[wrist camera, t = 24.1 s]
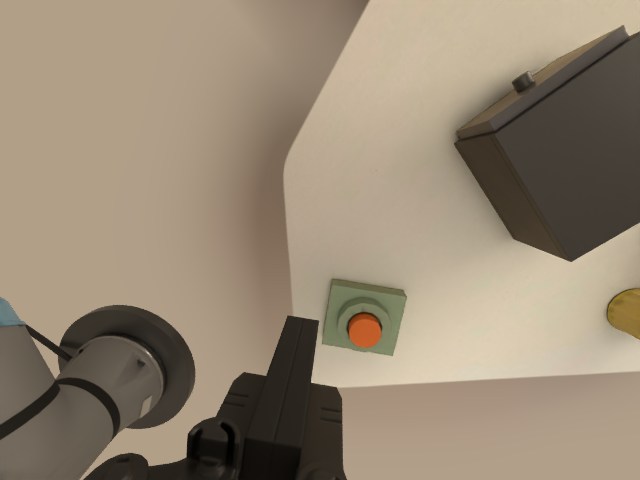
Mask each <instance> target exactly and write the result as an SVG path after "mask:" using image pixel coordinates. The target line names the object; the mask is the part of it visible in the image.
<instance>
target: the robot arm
mask: <svg viewBox="0 0 640 480" xmlns="http://www.w3.org/2000/svg"><path fill="white" fill-rule="evenodd" d="M318 325H319V321H318V320H312V319H306V318H300V317H294V316H287V319H286V322H285V325H284V328H283V331H282V333H281V336H280V339H279V342H278V345H277V347H276V350H275V353H274V356H273V359H272V362H271V364H270V367H269V370H268V373H267V376H263V375H257V374H251V373H246V372H244V373H242V374H241V375H240V376H239V377H238V378H236V380H234V382H233V383H232V385H231V387H230V389H229V391H228V394H227V395H226V397H225V399H224V401H223V404H222V405H221V407H220V410H219V411H218V413H217V415H216V417H213V418H209V419H206V420H203V421H201V422H200V423H198V424H197V425H195V426H194V427H193V428H192V430H191V431H190V432H189V433H188V439H187V458H185V459H182V460H180V461H178V462H173V463H169V464H163V465H156V466H148V462H147V460H146V459H145V458H144V457H143V456H142V455H139V454H134V453H128V454H120V455H118V456H115V457H113V458H110V459H108V460H107V461H105V462H104V463H102V464H101V465H100V466H98V467H97V468H96V469H94V470H93V471H92V472H91V473H90V474H89V475H88V476H87V477H86V478H85V479H84V480H347V479H346V476H345V473H344V470H343V448H342V447H343V444H342V441H343V440H342V398H341V396H340V394H339V392H338V390H337V387H332V386H326V385H320V384H314V383H311V376H312V369H313V362H314V354H315V347H316V340H317V332H318ZM30 335H31V336H32V337H33V338H35V339H37V340H38V341H39V342H41V343H42V344H43V345H45V346H46V347H48V348H49V349H50V350H52V351H53V352H54V353H55V354H57V355H58V356H60V357H61V358H62V359H64V360H65V361H67V362H68V364H67V365H66V366H65V367H64V369H63V370H62V371H61V373H60V374H59V375H58V377H57V378H56V379H55V378H54V376H53V375H52V373H51V371H50V369H49V368H48V366H47V364H46V362H45V361H44V359H43V357H42V355H41V354H40V352H39V350H38V348H37V347H36V345H35V343H34V341H33V339H32V338H31V336H30ZM166 387H167V373H166V369H165V366H164V364H163V361H162V360H161V358H160V357H159V355H158V354H157V353H156V351H155V350H154V349H153V348H152V347H151V346H149V345H148V344H147V343H145V342H144V341H142V340H141V339H139V338H137V337H135V336H132V335H129V334H125V333H119V332H110V333H104V334H101V335H98V336H96V337H94V338H93V339H91V340H90V341H88V342H87V343H85V344H84V345H83V346H81V347H80V348H79V349H78V351H77V352H76V353H75V354H74V356H73V357H72V356H70V355H69V354H67V353H66V352H65V351H63V350H62V349H60V348H59V347H58V346H57V345H55V344H54V343H53V342H51V341H50V340H48V339H47V338H45V337H44V336H43V335H41V334H40V333H38V332H37V331H35V330H34V329H32V328H31V327H29V326H28V325H26V323H25V322H23V321H21V320H20V319H19V317H18V316H17V314H16V313H15V311H14V310H13V308H12V307H11V305H10V304H9V303H8V301H6V300H5V299H3V298H1V297H0V480H79V479H80V478H81V477H82V475H83V474H84V473H85V472H86V471H87V469H88V468H89V467H90V466H91V465H92V463H93V462H94V461H95V460H96V458H97V457H98V456H99V455H100V454H101V453H102V451H103V450H104V449H105V448H106V447H107V445H108V444H109V443H110V442H111V441H112V439H113V438H114V437H115V436H116V435H117V434H118V433H119V432H120V431H121V430H123V429H124V428H126V427H127V426H129V425H130V424H131V423H133V422H134V421H135V420H137V419H138V418H141V417H143V416H144V415H145V414H147V413H148V412H149V411H151V410H152V409H153V408H154V407H155V405H156V404H157V403H158V402H159V400H160V399H161V398H162V396H163V395H164V393H165V390H166Z"/></svg>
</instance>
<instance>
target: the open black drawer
mask: <svg viewBox="0 0 640 480" xmlns="http://www.w3.org/2000/svg"><path fill="white" fill-rule="evenodd" d="M628 38H629V35H628V33H627V31H626V29H625V27H624V25H623V26H621V27H619V28H617V29H615V30H613V31H611V32H609V33H607V34H605V35H603V36H601V37H599V38H597V39H595V40H593V41H591V42H589V43H587V44H585V45H584V46H582V47H580V48H578V49H576V50H574V51H572V52H570V53H568V54H566V55H564V56H562V57H560V58H558V59H556V60H555V61H554V62H552V63H551V64H549V65H548V66H547V67H545V68H544V69H542V70H541V71H540V72H538V73H537V74H535V75H534V76H533V77H532V76H531V74H530V72H529V71H527V72H526V73H524V74H522V75H521V76H519V77H518V78H516V79H515V80H514V81H512V85H513V86H514V88H515V89H514V90H513V91H512V92H510V93H509V94H507V95H506V96H505V97H503V98H502V99H500V100H499V101H498V102H496V103H495V104H494V105H492V106H491V107H489V108H488V109H487V110H485V111H484V112H482V113H481V114H480V115H478V116H477V117H475V118H474V119H473V120H471V121H470V122H468V123H467V124H466V125H464V126H463V127H461V128H460V129H459V130H457V131H456V132H457V134H458V136H459V137H460V139H461V140H462V139H466V138H470V137H474V136H478V135H482V134H486V133H490V132H494V131H496V130H498V129H500V128H501V127H503V126H504V125H506V124H507V123H508V122H510V121H511V120H513V119H514V118H516V117H517V116H519V115H520V114H521V113H523V112H524V111H526V110H527V109H529V108H530V107H531V106H533V105H534V104H536V103H537V102H539V101H540V100H541V99H543V98H544V97H546V96H547V95H549V94H550V93H552V92H553V91H554V90H556V89H557V88H559V87H560V86H562V85H563V84H564V83H565V82H567V81H568V80H570V79H571V78H572V77H574V76H575V75H577V74H578V73H580V72H581V71H582V70H584V69H585V68H587V67H588V66H590V65H591V64H593V63H594V62H595V61H597V60H598V59H600V58H601V57H603V56H604V55H605V54H607V53H608V52H610V51H611V50H613V49H614V48H615V47H617V46H618V45H620V44H621V43H623V42H624V41H625V40H627V39H628Z"/></svg>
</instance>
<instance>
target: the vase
mask: <svg viewBox="0 0 640 480" xmlns="http://www.w3.org/2000/svg"><path fill="white" fill-rule="evenodd" d="M607 316H608V320H609V322H610V323H611V325H612V326H613V327H615V328H617V329H618V330H621V331H624V332H626V333H628V334H630V335H632V336H634V337H636V338H638V339H640V289H632V290H628V291H625V292H623V293H621V294H619V295H618V296H616V297H615V298H614V299H613V300H612V302H611V303H610V305H609V307H608V312H607Z"/></svg>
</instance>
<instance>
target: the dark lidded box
mask: <svg viewBox="0 0 640 480" xmlns="http://www.w3.org/2000/svg"><path fill="white" fill-rule="evenodd" d="M454 145H455V146H456V148H457V150H458V151H459V153H460V154H461V156H462V158H463V159H464V161H465V162H466V164H467V166H468V167H469V169H470V170H471V172H472V174H473V175H474V177H475V178H476V180H477V181H478V183H479V185H480V186H481V188H482V189H483V191H484V193H485V194H486V196H487V197H488V199H489V201H490V202H491V204H492V205H493V207H494V209H495V210H496V212H497V213H498V215H499V217H500V218H501V220H502V221H503V223H504V224H505V226H506V228H507V229H508V231H509V232H510V234H511V236H512V237H513V239H515V240H517V241H520V242H522V243H525V244H527V245H530V246H532V247H535V248H537V249H540V250H542V251H545V252H547V253H550V254H552V255H555V256H557V257H560V258H562V259H565V260H567V261H570V262H572V261H574V260H575V259H577V258H579V257H580V256H582V255H584V254H586V253H587V252H589V251H591V250H593V249H594V248H596V247H598V246H600V245H601V244H603V243H605V242H607V241H608V240H610V239H612V238H613V237H615V236H617V235H619V234H620V233H622V232H624V231H626V230H627V229H629V228H631V227H633V226H634V225H636V224H638V223H639V222H640V32H638V33H636V34H633V35H631V36H629V38H628V39H627V40H625V41H624V42H623V43H621V44H620V45H618V46H617V47H615V48H614V49H613V50H611V51H610V52H608V53H607V54H605V55H604V56H603V57H601V58H600V59H598V60H597V61H595V62H594V63H593V64H591V65H590V66H588V67H587V68H585V69H584V70H582V71H581V72H580V73H578V74H577V75H575V76H574V77H572V78H571V79H570V80H568V81H567V82H565V83H564V84H563V85H562V86H560V87H559V88H557V89H556V90H554V91H553V92H552V93H550V94H549V95H547V96H546V97H544V98H543V99H541V100H540V101H539V102H537V103H536V104H534V105H533V106H531V107H530V108H529V109H527V110H526V111H524V112H523V113H521V114H520V115H519V116H517V117H516V118H514V119H513V120H511V121H510V122H508V123H507V124H506V125H504V126H503V127H501V128H500V129H498V130H496V131H494V132H490V133H486V134H482V135H478V136H474V137H470V138H466V139H462V140H461V139H460V140H458V141H457V142H456V143H454Z"/></svg>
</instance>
